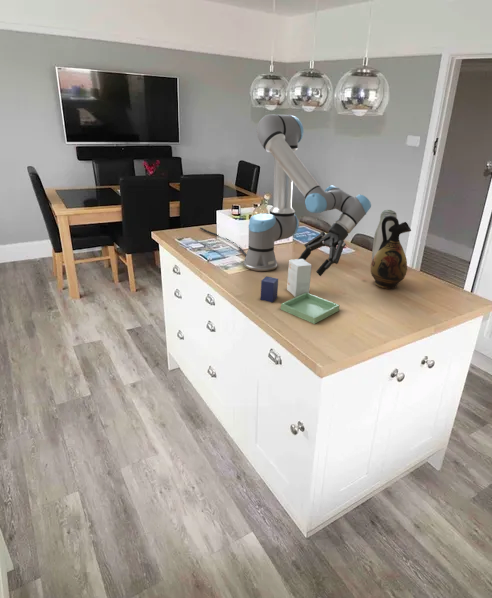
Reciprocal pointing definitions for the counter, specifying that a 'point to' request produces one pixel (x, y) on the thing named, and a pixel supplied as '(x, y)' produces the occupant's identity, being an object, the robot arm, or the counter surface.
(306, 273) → the small box
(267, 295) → the navy block
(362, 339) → the counter surface
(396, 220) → the ceramic jug
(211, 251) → the counter surface
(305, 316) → the tray
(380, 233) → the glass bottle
